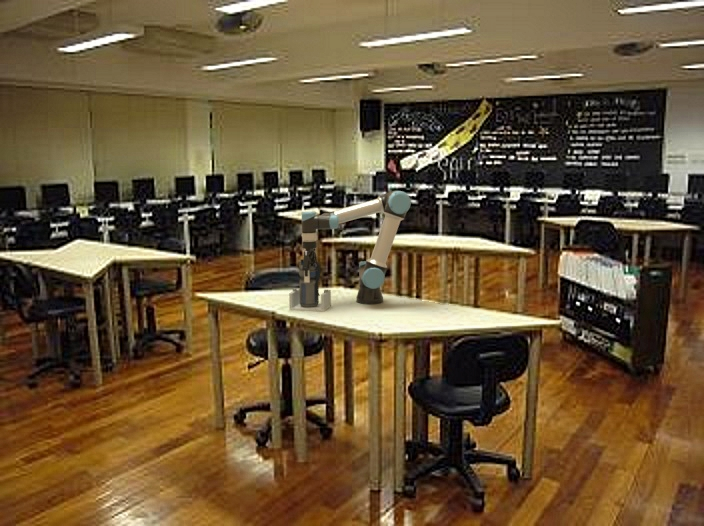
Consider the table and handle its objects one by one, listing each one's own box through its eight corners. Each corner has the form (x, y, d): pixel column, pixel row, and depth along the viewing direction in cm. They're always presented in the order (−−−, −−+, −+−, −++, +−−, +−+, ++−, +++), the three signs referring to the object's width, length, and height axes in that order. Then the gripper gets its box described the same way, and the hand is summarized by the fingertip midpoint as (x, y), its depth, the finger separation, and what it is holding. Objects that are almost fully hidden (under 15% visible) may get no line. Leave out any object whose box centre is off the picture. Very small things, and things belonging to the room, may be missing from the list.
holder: (330, 305, 340) (330, 287, 339) (324, 311, 327) (323, 292, 325) (297, 304, 345) (297, 286, 343) (289, 309, 331) (289, 291, 330)
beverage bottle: (314, 309, 328) (314, 262, 324) (294, 306, 335) (294, 260, 332) (325, 305, 336) (325, 260, 333) (306, 303, 344) (305, 258, 340)
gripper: (309, 238, 343) (310, 276, 346) (295, 243, 319) (296, 284, 322) (322, 238, 342) (323, 276, 345) (309, 243, 318) (310, 284, 321)
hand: (310, 280), depth 334 cm, fingers open, 13 cm apart
